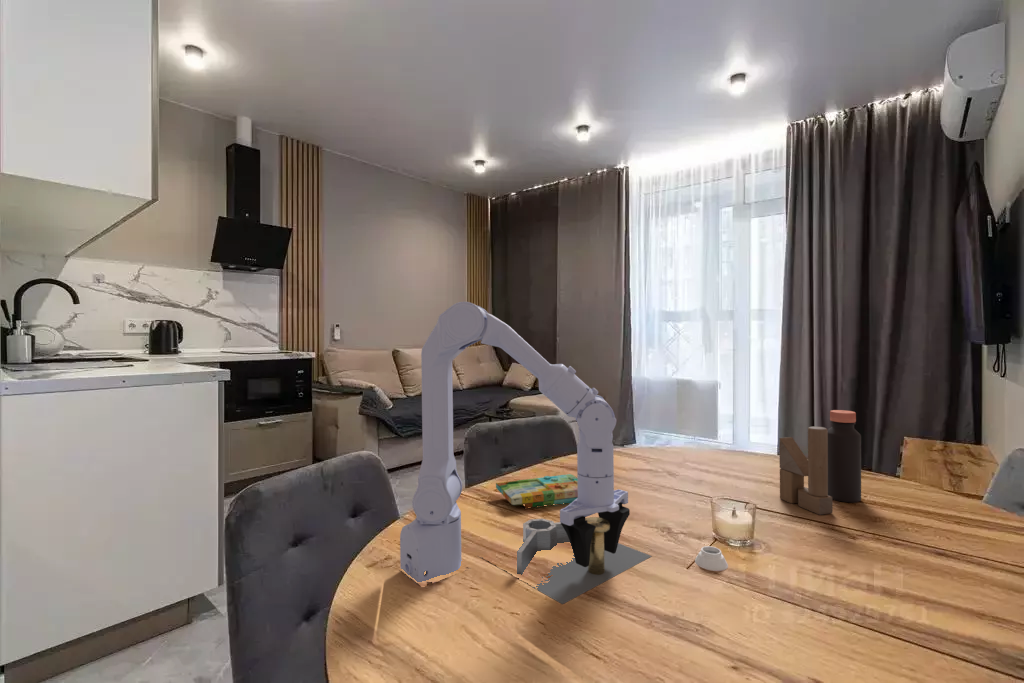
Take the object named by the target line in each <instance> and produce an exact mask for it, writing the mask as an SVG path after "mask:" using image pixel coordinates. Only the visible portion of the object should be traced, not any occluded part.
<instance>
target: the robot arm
mask: <svg viewBox="0 0 1024 683" xmlns="http://www.w3.org/2000/svg"><path fill="white" fill-rule="evenodd" d="M478 342H480V344H483V345H487V346H492V347H496V348H500V349H501V350H503V352H505V353H506V354H508V355H509V356H510V357H511V358H512V359H514V361H516V362H517V363H518V364H520V365H521V366H522V367H523V368H524V369H526V371H528V372H530V374H531V375H533V376H534V377H535V378H536V379H537V380H538V390H539V392H540V393H541V394H543V395H544V396H545V397H546V398H547V399H548V400H549V401H550V402H552V404H554V405H555V406H556V407H557V408H558V409H559V410H560V411H561V412H563V413H564V414H565V415H566V416H567V417H571V418H574V419H575V421H576V423H577V426H578V442H577V444H576V446H577V447H576V450H577V451H576V452H577V453H576V454H577V456H576V460H577V461H576V462H577V464H576V466H577V473H576V474H577V475H576V477H577V483H578V498H577V499H575V500H574V501H573V502H572V503H569V504H567V506H565V507H562V508H561V509H560V510H559V522H561V525H562V526H563V528H564V530H565V531H566V533H567V535H568V538H569V540H570V543H571V546H572V549H573V553H574V557H575V561H576V563H577V564H579V565H581V566H583V567H587V566H588V565H589V561H590V546H591V540H592V536H593V533H594V530H595V528H596V526H594V525H591V524H589V523H587V520H586V521H585V518H588V517H591V516H592V515H596V514H597V515H598V517H600V518H604V519H607V520H608V521H609V522H610V530H608V531H606V532H604V550H605V551H608V552H610V553H613V554H614V553H616V550H617V546H618V543H619V541H620V536H621V533H622V531H623V527H624V525H625V524H626V522H627V519H628V518H629V516H630V515H631V514H630V513H631V512H630V509H629V508H628V507H626V506H623V505H628V503H629V491H626V490H622V489H618V488H617V489H615V486H614V485H615V483H614V482H615V476H614V474H615V469H614V463H615V462H614V461H615V460H614V456H615V455H614V448H615V447H614V444H613V440H614V439H613V438H614V436H613V435H614V434H613V431H614V429H615V428H616V425H617V421H618V420H617V418H616V416H615V412H614V410H613V408H612V407H611V406H610V403H608V402H607V401H606V400H605V399H604V397H603V396H601V395H598V394H599V390H598V389H596V388H595V387H592V388H591V387H590V386H589V385H588V384H586V383H585V382H584V381H583V380H582V379H581V378H579V377H578V376H577V374H576V373H577V370H576V369H574V367H572V366H571V365H569V366H568V367H567V366H566V365H565V364H563V363H555V364H552V363H550V362H549V361H547V359H546V358H544V357H543V356H542V354H540V353H539V352H538V351H537V350H535V348H534V347H533V346H532V345H530V344H529V343H528V342H527V341H526V340H525V339H524V338H523V337H522V336H521V335H519V334H518V333H517V332H516V331H515V329H513V328H512V327H511V326H510V325H509V324H507V323H506V322H504V321H502V320H501V319H499V318H498V317H496V316H495V315H493V314H491V313H489V312H488V311H487V310H486V309H485V308H483V307H482V306H480V305H476V304H475V303H472V302H470V301H459V302H456V303H453V304H452V305H451V306H449V307H448V308H447V309H446V310H445V311H443V312H442V313H441V314H439V316H438V318H437V321H436V324H435V326H433V329H432V331H431V333H430V334H429V336H428V337H427V339H426V341H425V342H424V344H423V346H422V347H421V354H420V358H421V363H420V364H421V420H422V421H421V422H422V425H421V428H422V429H421V430H422V436H421V437H422V438H421V439H422V461H421V465H420V468H419V472H418V475H417V478H418V479H417V488H416V490H415V492H414V494H413V497H412V500H411V502H412V508H413V511H414V514H415V515H416V517H415V519H414V520H413V521H411V522H410V523H407V524H405V525H403V527H402V528H401V531H400V536H399V545H400V546H399V554H400V556H399V557H400V558H399V560H400V561H399V563H400V568H401V569H403V570H404V571H405V572H406V573H407V574H408V575H410V576H411V577H412V578H414V579H415V580H416V581H417V582H422V581H426V580H429V579H431V578H434V577H437V576H440V575H446V574H449V573H451V572H454V571H456V570H458V569H459V568H460V566H461V561H462V511H461V509H460V507H459V506H458V503H457V500H458V499H459V498H460V497H461V495H462V492H463V483H462V479H461V477H460V476H459V474H458V473H459V472H458V470H457V460H456V457H455V455H454V403H453V402H454V399H453V397H454V396H453V395H454V394H453V391H454V389H453V388H454V386H453V383H454V381H453V361H454V360H455V359H457V357H458V356H459V355H460V354H462V353H463V352H464V351H465V350H466V348H468V347H469V346H471V345H474V344H476V343H478ZM425 571H426V574H425V575H424V572H425Z"/></svg>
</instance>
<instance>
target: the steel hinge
mask: <svg viewBox="0 0 1024 683" xmlns="http://www.w3.org/2000/svg"><path fill="white" fill-rule="evenodd" d="M522 529H523V530H522V531H523V532H522V535H523V537H522V539H523V542H524V543H523V544H522V546H521V547H520V548H519V550H518V551H517V574H521V575H522V574H523V572H524V570H525V569H526V567H527V566H528V564H529V563H530V561H531V560H532V558H533V557H534V555H535V554H536V552H537V551H541V550H551V549H552V548H553V547H554V546H556V545H557V543H564V542H570V540H569V538H568V535H567V533H566V531H565V530H564V528H563V526H562V525H561V522H560V521H558V522H554V521H553V520H549V519H546V518H533V519H529V520H527V521H525V522H524V523H522Z"/></svg>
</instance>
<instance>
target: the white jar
mask: <svg viewBox="0 0 1024 683" xmlns="http://www.w3.org/2000/svg"><path fill="white" fill-rule="evenodd" d="M694 563H695V565H697V566H698V567H700V568H701V569H702V568H703V569H705V570H707V571H714V572H715V571H717V572H721V571H725V570H727V569H728V568H729V564H728V562H727V560H726V558H725V556H724V555H723V553H722V550H721V549H720V548H718V547H715V546H711V545H710V546H708V545H707V546H702V547H701V548H700V550H699V551H698V554H697V555H696V557H695V560H694Z"/></svg>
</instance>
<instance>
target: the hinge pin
mask: <svg viewBox="0 0 1024 683" xmlns="http://www.w3.org/2000/svg"><path fill="white" fill-rule="evenodd" d="M586 520H587V523H589V524H591V525H594V526H596V528H595V530H594V533H593V536H592V540H591V546H590V561H589V565H588V571H589V572H590V573H591V574H594V575H601V574H603V573H604V572H605V556H604V532H606V531H608V530H610V522H609V521H608V520H607V519H604V518H600V517H599V516H588V517H585V521H586Z"/></svg>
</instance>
